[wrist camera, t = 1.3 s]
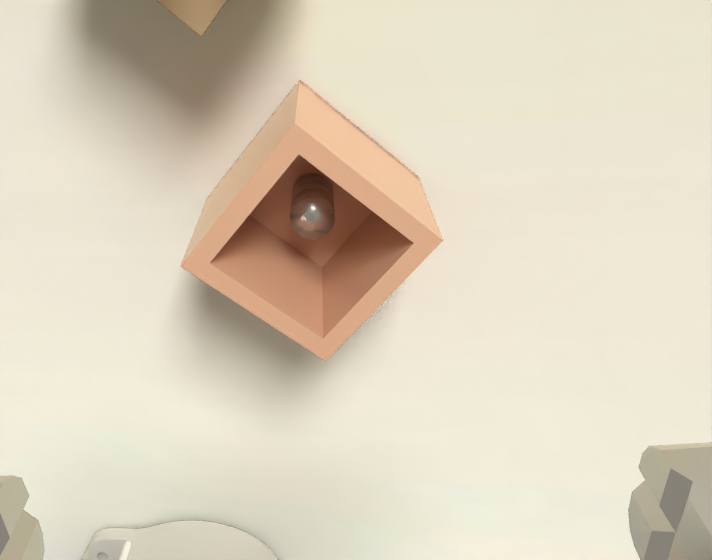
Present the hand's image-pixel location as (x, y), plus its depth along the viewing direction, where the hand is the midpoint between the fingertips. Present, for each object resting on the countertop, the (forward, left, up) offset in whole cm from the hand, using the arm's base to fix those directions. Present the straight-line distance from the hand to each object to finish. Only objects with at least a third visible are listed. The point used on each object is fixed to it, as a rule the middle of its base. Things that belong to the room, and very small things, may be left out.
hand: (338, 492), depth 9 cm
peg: (-6, -4, -31) cm, 32 cm away
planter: (-6, -4, -32) cm, 33 cm away
